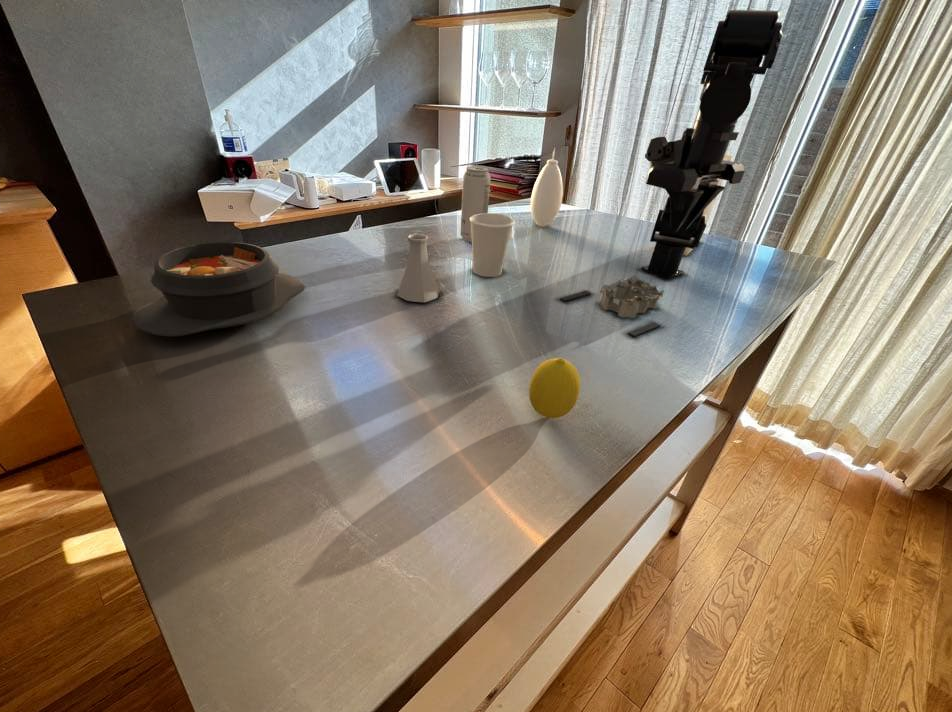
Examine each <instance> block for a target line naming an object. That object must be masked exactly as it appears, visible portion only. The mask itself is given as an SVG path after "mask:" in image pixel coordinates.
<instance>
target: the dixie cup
mask: <svg viewBox="0 0 952 712" xmlns="http://www.w3.org/2000/svg"><path fill="white" fill-rule="evenodd" d="M470 221H471V233H472V242H471V251H472V268H473V269H472V271H473V273H474V274H475V275H478V276H479V277H486V278H494V277H499V276H500V275H501V274H502V272H503V269H504V264H505V260H506V255H507V251H508V247H509V244H510V238H511V234H512V230H513V228H514V227H513V226H514V225H515V220H514V218H512V217H510V216H508V215H506V214H505V215H504V214H500V213H489V212H488V213H482V214H476V215H473V216H472V217H471V218H470Z"/></svg>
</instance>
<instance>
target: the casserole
mask: <svg viewBox="0 0 952 712" xmlns="http://www.w3.org/2000/svg"><path fill="white" fill-rule="evenodd" d="M278 264H279V263H277V262H276V261H275V260H274V259H273V258H272V257H271V254H270V253H269V252H268V251H267V250H266V249H265V248H263V247H261V246H258V245H255V244H250V243H246V242H245V243H244V242H232V241H231V242H230V241H228V242H227V241H225V242H223V241H222V242H221V241H219V242H218V241H217V242H209V243H208V242H206V243H199V244H193V245H188V246H184V247H180V248H176V249H174V250H171V251H168V252H166V253H164V254H162V255H160V256H159V257H158V258H157V259H156V260H155V261H154V266H153V267H154V268H153V269H154V271H153V272H154V273H153V274H152V275H151V277H150V278H151V279H150V283H151V284H152V286H153V287H154V288H155V289H157V290H158V291H160V292H161V293H162V295H163V296H161V297H159V298H158V299H156V300H153V301H151V302H149V303H147V304H144V305H142V306H141V307H139V308H137V309H135V311H134V312H133V313H132V317H131V320H132V321H131V322H132V324H133V325H134V326H135V327H137V328H138V329H139V330H141V331H143V332H145V333H147V334H152V335H156V336H163V337H172V338H174V337H184V336H190V335H194V334H199V333H202V332H205V331H210V330H219V329H225V328H232V327H239V326H243V325H247V324H251V323H255V322H257V321H261V320H263V319H266V318H268V317H270V316H272V315H274V314H275V313H277V312H279V311H280V310H282V309H283V308H284V307H285V306H286V305H287V304H288V303H289V302H290V301H291V300H292V299H293V298H295V297H297V296H298V295H300V294H301V293H303V292H304V291H305V289H306V286H305V284H304V282H303V281H302V280H300V279H298V278H296V277H294V276H293V275H289V274H286V273H283V272H280V266H279V265H278Z"/></svg>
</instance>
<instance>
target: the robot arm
mask: <svg viewBox="0 0 952 712" xmlns="http://www.w3.org/2000/svg"><path fill="white" fill-rule="evenodd" d="M779 16H780V11H779V10H762V9H761V10H760V9H759V10H756V9H754V10H753V9H752V10H751V9H747V10H746V9H729V10H728V11H727V13H726V16H725V18H724V20H718V22H717V23H718V24H717V25H716V29H715V32H714V35H713V39H712V42H711V44H710V48H709V51H708V54H707V57H706V61H705V63H704V66H703V70H702V71H703V72H702V76H701V79H700V83H699V85H702V89H701V93H700V96H699V106H698V108H697V109H698V110H697V113H696V115H695V120H694V122H693V125H692V127H686V129H685V130H683V132H682V137H681V138H680V139H678V140H671V141H668V140H667V137H666V136H657V137H653V138H650V141H649V144H648V145H647V149H646V153H645V154H644V158H645V159H646V160H647V161H648V162H649V170H648V173H647V176H646V179H645V180H646V181H645V184H646V185H647V186H648V185H649V186H653V187H656V188H660V189H663V190H665V192H666V193H667V195H668V197H667V198H666V201H665V204H664V207H663V209H658V214H657V217H656V219H655V224H654V226H653V230H652V233H651V237H650V240H649V242H651V243H655V245H654V248H653V251H652V254H651V257H650V260H649V263H648V264H647V265H644V266H641V267H640V270H641V271H643V272H645V273H646V272H647V273H649V274H652V275H654V276H656V277H659V278H661V279H664V280H670V279H673V278H676V277H679V276H682V275H684V274H685V271H684V270H682V269H679V268H680V266H681V263H682V260H683V257H684V256H685V255H684V252H685V249H686V247H687V248H691V249H693V250H694V249H695V248H698V247H699V244H700V243H701V241H700V239H701V240H702V238H703V236H704V233H705V230H706V228H707V224H706V223H705V217H706V216H702V215H703V212H704V209H705V208H706V207H707V206H708V205H709V204H710V203H711V202H712V200H713V199H714V198H715V197H716V196H717V197H718V195H719V194H720V193H722V192H723V191H725V189H726V186H722V185H721V186H719V185H717V184H718V182H719V181H718V180H717V178H718V179H722V180H723V181H728V184H730V185H737V184H741V182H742V180H743V177H744V175H745V171H746V169H745V167H744V165H743V163H742V162H736V161H731V160H730V161H726V160H723V159H724V156H725V155H726V153H727V149H728V147H729V145H730V143H731V141H737V139H738V137H739V134H740V132H738V131H735V129H736V127H737V123H738V121H739V119H740V117H742V115H743V114H744V113H745V111H746V110H747V109H748V107H749V104H750V101H751V100H752V86H751V84H752V81H753V79H754V77H755V75H758V76H759V75H760V76H761V75H762V76H764V75H766V73H767V69H772V67H773V65H774V63H775V60H776V57H777V54H778V51H779V47H780V44H781V41H782V37H783V32H782V28H783V24H782V22H781V21H778V19H779ZM760 65H761V66H760ZM717 197H716V198H717ZM701 237H702V238H701ZM691 238H693V239H691Z"/></svg>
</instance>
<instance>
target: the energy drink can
mask: <svg viewBox="0 0 952 712" xmlns="http://www.w3.org/2000/svg"><path fill="white" fill-rule="evenodd" d="M491 178H492V177H491V175H490V172H489V168H488V167H486V166H480V165H478V166H477V165H476V166H475V165H471V166H467V167H466V170H465V172H464V174H463V176H462V192H461V211H460V212H461V213H460V229H459V230H460V233H459V235H460V237H461V239H462V241H464V242H467V243H472V233H471V221H470V218H471V217H472V216H473V215H476V214H482V213H489V202H490V201H489V200H490V192H491V191H490V190H491V180H492V179H491Z"/></svg>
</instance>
